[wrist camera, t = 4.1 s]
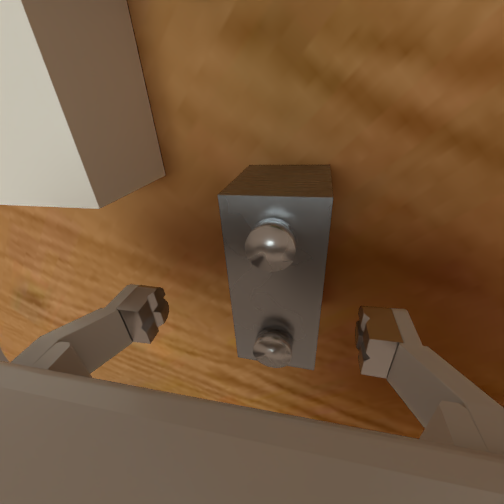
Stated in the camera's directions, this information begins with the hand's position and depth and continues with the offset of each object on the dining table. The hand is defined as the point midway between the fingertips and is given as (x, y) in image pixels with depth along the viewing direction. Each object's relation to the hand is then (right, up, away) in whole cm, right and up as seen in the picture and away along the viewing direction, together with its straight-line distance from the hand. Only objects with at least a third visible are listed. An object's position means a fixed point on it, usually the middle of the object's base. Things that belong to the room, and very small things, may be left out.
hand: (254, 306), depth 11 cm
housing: (+2, +3, +5) cm, 6 cm away
